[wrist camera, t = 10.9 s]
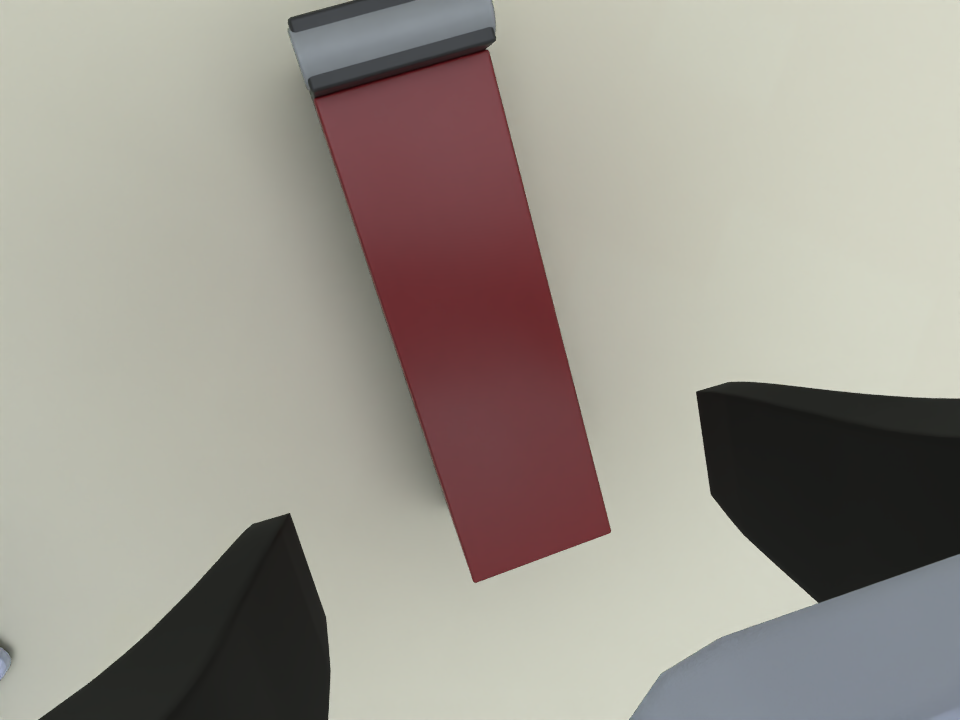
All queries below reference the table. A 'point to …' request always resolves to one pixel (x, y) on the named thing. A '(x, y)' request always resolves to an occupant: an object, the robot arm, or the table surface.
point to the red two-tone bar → (456, 267)
